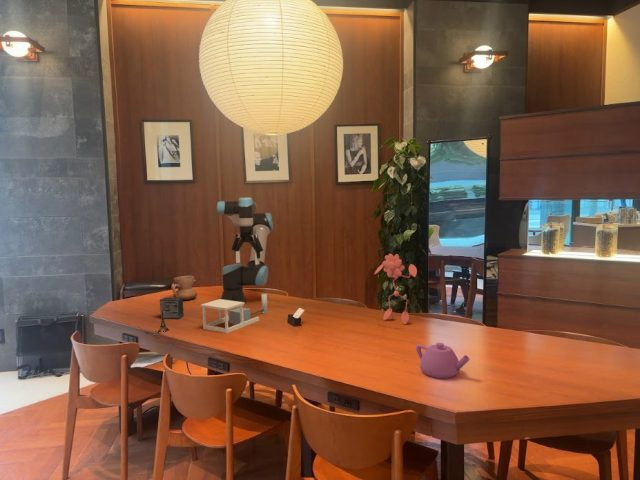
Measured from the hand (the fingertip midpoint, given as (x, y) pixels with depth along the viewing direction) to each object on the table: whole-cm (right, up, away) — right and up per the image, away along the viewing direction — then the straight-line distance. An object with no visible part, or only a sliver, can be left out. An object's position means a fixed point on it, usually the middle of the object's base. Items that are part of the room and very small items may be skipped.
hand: (247, 263), depth 259 cm
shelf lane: (-3, -30, -30) cm, 42 cm away
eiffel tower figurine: (-35, -32, -37) cm, 60 cm away
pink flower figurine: (+76, -28, -30) cm, 87 cm away
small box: (-39, -29, -10) cm, 49 cm away
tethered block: (+5, -27, -17) cm, 33 cm away
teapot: (+84, -35, -93) cm, 130 cm away
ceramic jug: (-45, -25, +33) cm, 61 cm away
